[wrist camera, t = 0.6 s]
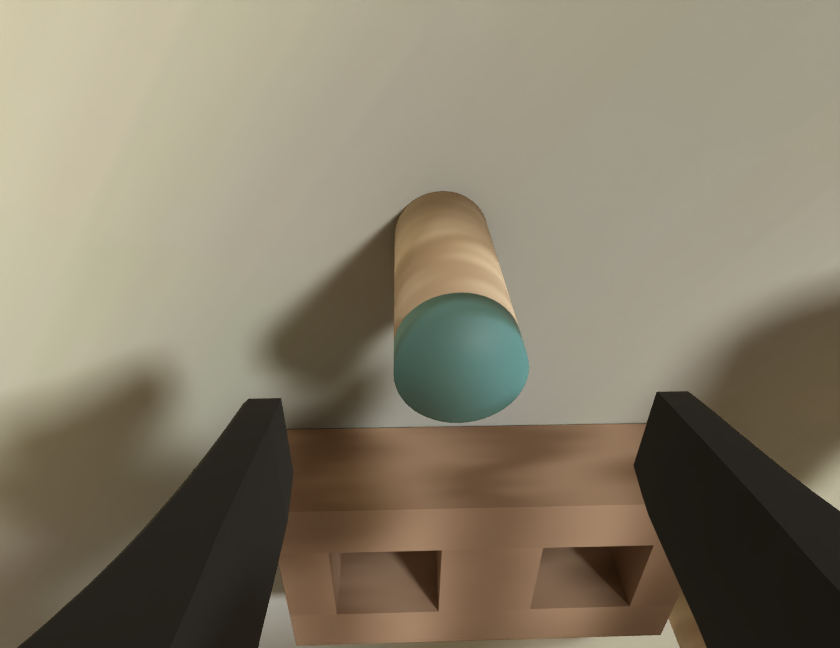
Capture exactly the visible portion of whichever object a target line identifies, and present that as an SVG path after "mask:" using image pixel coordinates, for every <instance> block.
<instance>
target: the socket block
mask: <svg viewBox="0 0 840 648" xmlns="http://www.w3.org/2000/svg"><path fill="white" fill-rule="evenodd" d="M646 424H647V423H646ZM646 424H586V425H527V426H467V427H408V428H348V429H289V430H286V431H287V437H288V443H289V449H290V455H291V461H292V467H293V481H292V490H291V499H290V507H289V515H288V523H287V527H286V532H285V536H284V540H283V544H282V549H281V553H280V557H279V562H278V563H279V568H280V572H281V577H282V581H283V586H284V590H285V595H286V600H287V604H288V609H289V613H290V618H291V622H292V627H293V632H294V636H295V641H296V645H297V646H298V645H333V644H367V643H401V642H435V641H470V640H504V639H538V638H572V637H607V636H641V635H661V633H662V631H663V628H664V626H665V624H666V622H667V620H668V618H669V616H670V614H671V612H672V609H673V607H674V605H675V603H676V601H677V599H678V597H679V595H680V593H681V587H680V585H679V583H678V581H677V579H676V576H675V574H674V572H673V570H672V568H671V565H670V563H669V561H668V559H667V556H666V554H665V552H664V550H663V547H662V545H661V543H660V541H659V538H658V536H657V534H656V532H655V529H654V527H653V525H652V522H651V520H650V518H649V515H648V513H647V509H646V506H645V503H644V500H643V497H642V494H641V490H640V487H639V483H638V480H637V476H636V473H635V469H634V462H635V459H636V455H637V452H638V449H639V446H640V443H641V440H642V437H643V434H644V430H645V427H646Z"/></svg>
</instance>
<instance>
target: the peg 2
mask: <svg viewBox="0 0 840 648" xmlns="http://www.w3.org/2000/svg"><path fill="white" fill-rule="evenodd" d="M668 619H669V621H670V624H671V626H672V629H673V631H674V634H675V636H676V639H677V641H678V644H679V646H680V648H707V647H706V645H705V642H704V640H703V638H702V635H701V633H700V630H699V628H698V625H697V623H696V621H695V619H694V616H693V614H692V612H691V610H690V607H689V605H688V603H687V601H686V599H685V596H684V594H683V592H682V590H681V593H680V595H679V597H678V599H677V601H676V603H675V605H674V607H673V609H672V612H671V614H670V616H669V618H668Z"/></svg>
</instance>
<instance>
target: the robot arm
mask: <svg viewBox="0 0 840 648" xmlns="http://www.w3.org/2000/svg"><path fill="white" fill-rule="evenodd" d="M634 469H635V473H636V476H637V480H638V483H639V487H640V490H641V494H642V497H643V500H644V503H645V506H646V509H647V513H648V515H649V518H650V520H651V522H652V525H653V527H654V529H655V532H656V534H657V536H658V538H659V541H660V543H661V545H662V547H663V550H664V552H665V554H666V556H667V559H668V561H669V563H670V565H671V568H672V570H673V572H674V574H675V576H676V579H677V581H678V583H679V585H680V587H681V590H682V592H683V594H684V596H685V599H686V601H687V603H688V605H689V607H690V610H691V612H692V614H693V616H694V619H695V621H696V623H697V625H698V628H699V630H700V633H701V635H702V638H703V640H704V642H705V645H706V647H707V648H840V511H839V510H837V509H836V508H835V507H833V506H832V505H831V504H829V503H828V502H826V501H825V500H824V499H822V498H821V497H820V496H818V495H817V494H815V493H814V492H813V491H811V490H810V489H809V488H808V487H806V486H805V485H804V484H802V483H801V482H800V481H798V480H797V479H796V478H794V477H793V476H792V475H791V474H789V473H788V472H787V471H786V470H784V469H783V468H782V467H780V466H779V465H778V464H777V463H776V462H774V461H773V460H772V459H771V458H769V457H768V456H767V455H766V454H764V453H763V452H762V451H761V450H759V449H758V448H757V447H756V446H754V445H753V444H752V443H751V442H750V441H748V440H747V439H746V438H745V437H744V436H742V435H741V434H740V433H739V432H738V431H736V430H735V429H734V428H733V427H731V426H730V425H729V424H728V423H727V422H725V421H724V420H723V419H722V418H721V417H719V416H718V415H717V414H716V413H715V412H713V411H712V410H711V409H710V408H708V407H707V406H706V405H705V404H704V403H702V402H701V401H700V400H698V399H697V398H696V397H695V396H693V395H692V394H691V393H689V392H688V391H683V392H657V393H656V396H655V399H654V402H653V405H652V408H651V412H650V415H649V418H648V421H647V424H646V427H645V430H644V434H643V437H642V440H641V443H640V446H639V449H638V452H637V455H636V459H635V462H634ZM292 481H293V467H292V461H291V455H290V449H289V443H288V437H287V431H286V425H285V419H284V413H283V407H282V401H281V398H269V399H248V400H247V401H246V402H245V403H244V404H243V405H242V406H241V408H240V409H239V411H238V412H237V413H236V415H235V416H234V418H233V419H232V420H231V422H230V423H229V425H228V426H227V427H226V429H225V430H224V431H223V433H222V434H221V436H220V437H219V438H218V440H217V441H216V442H215V444H214V445H213V446H212V447H211V449H210V450H209V451H208V453H207V454H206V455H205V457H204V458H203V459H202V460H201V462H200V463H199V464H198V465H197V467H196V468H195V469H194V470H193V472H192V473H191V474H190V475H189V477H188V478H187V479H186V480H185V482H184V483H183V484H182V485H181V487H180V488H179V489H178V490H177V491H176V493H175V494H174V495H173V496H172V497H171V498H170V500H169V501H168V502H167V503H166V504H165V505H164V506H163V507H162V509H161V510H160V511H159V512H158V513H157V514H156V515H155V516H154V518H153V519H152V520H151V521H150V522H149V523H148V524H147V526H146V527H145V528H144V529H143V530H142V531H141V532H140V533H139V534H138V535H137V536H136V538H135V539H134V540H133V541H132V542H131V543H130V544H129V545H128V546H127V547H126V548H125V549H124V550H123V551H122V552H121V553H120V554H119V555H118V556H117V557H116V558H115V559H114V560H113V561H112V562H111V563H110V564H109V565H108V566H107V567H106V568H105V569H104V570H103V571H102V572H101V573H100V574H99V575H98V576H97V577H96V578H95V579H94V580H93V581H92V582H91V583H90V584H89V585H88V586H86V587H85V588H84V589H83V590H82V591H81V592H80V593H79V594H78V595H77V596H75V597H74V598H73V599H72V600H71V601H70V602H69V603H68V604H67V605H66V606H64V607H63V608H62V609H61V610H60V611H59V612H58V613H57V614H56V615H55V616H54V617H52V618H51V619H50V620H49V621H48V622H47V623H46V624H44V625H43V626H42V627H41V628H40V629H39V630H38V631H36V632H35V633H34V634H33V635H32V636H31V637H29V638H28V639H27V640H26V641H25V642H23V643H22V644H21V645H20V646H19V647H17V648H258V646H259V641H260V637H261V632H262V628H263V624H264V620H265V616H266V612H267V607H268V603H269V599H270V595H271V591H272V587H273V582H274V578H275V574H276V570H277V566H278V562H279V557H280V553H281V549H282V544H283V540H284V536H285V532H286V527H287V523H288V515H289V507H290V499H291V490H292Z"/></svg>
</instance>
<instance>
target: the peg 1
mask: <svg viewBox="0 0 840 648" xmlns="http://www.w3.org/2000/svg"><path fill="white" fill-rule="evenodd" d="M528 371H529V362H528V357H527V353H526V350H525V346H524V343H523V340H522V337H521V333H520V330H519V327H518V324H517V320H516V317H515V314H514V311H513V307H512V304H511V301H510V298H509V294H508V291H507V288H506V285H505V281H504V278H503V275H502V272H501V268H500V265H499V262H498V259H497V255H496V252H495V249H494V246H493V242H492V239H491V236H490V233H489V229H488V226H487V223H486V220H485V217H484V215H483V213H482V212H481V210H480V209H479V207H478V206H477V205H476V204H475V203H474V202H473V201H471V200H470V199H468V198H467V197H465V196H463V195H460V194H457V193H454V192H447V191H439V192H432V193H428V194H425V195H423V196H421V197H418V198H417V199H415V200H414V201H412V202H411V203H410V204H409V205H408V206H407V207H406V208H405V209H404V210H403V212H402V213H401V215H400V217H399V218H398V221H397V224H396V228H395V263H394V382H395V385H396V388H397V391H398V393H399V395H400V396H401V398H402V399H403V400H404V401H405V403H406V404H407V405H408V406H410V407H411V408H412V409H413V410H415V411H416V412H418V413H419V414H421V415H423V416H425V417H428V418H431V419H434V420H438V421H442V422H450V423H463V422H471V421H476V420H480V419H484V418H486V417H489V416H491V415H494V414H496V413H498V412H499V411H501V410H503V409H504V408H505V407H507V406H508V405H509V404H511V403H512V402H513V401H514V400H515V399H516V397H517V396H518V395H519V394H520V392H521V391H522V389H523V387H524V385H525V383H526V380H527V377H528Z"/></svg>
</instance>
